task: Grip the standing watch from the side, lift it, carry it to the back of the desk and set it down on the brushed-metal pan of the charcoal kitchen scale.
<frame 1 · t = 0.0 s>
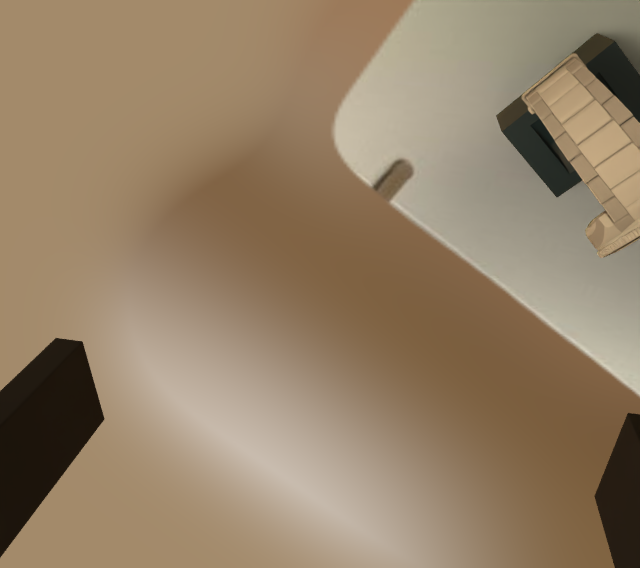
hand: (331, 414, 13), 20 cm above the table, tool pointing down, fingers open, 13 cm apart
watch: (571, 109, 27), on the table
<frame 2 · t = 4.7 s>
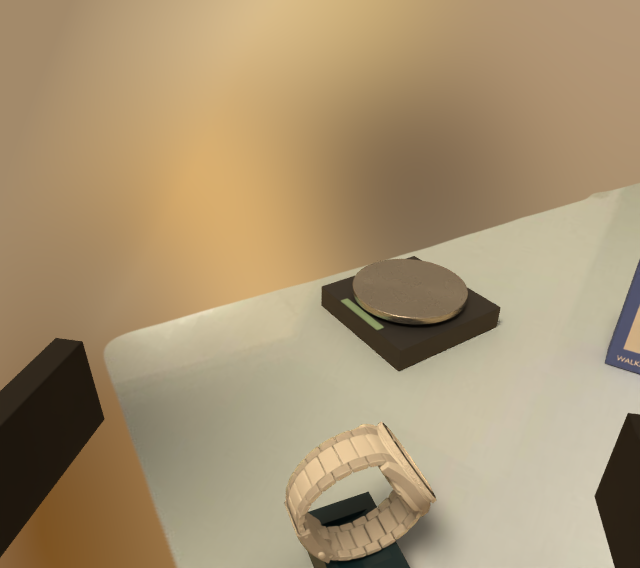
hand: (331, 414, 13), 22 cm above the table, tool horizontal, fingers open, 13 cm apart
scale pan: (409, 288, 55), point 3 cm above the table, slide at 0.0 cm
scale: (406, 315, 56), on the table
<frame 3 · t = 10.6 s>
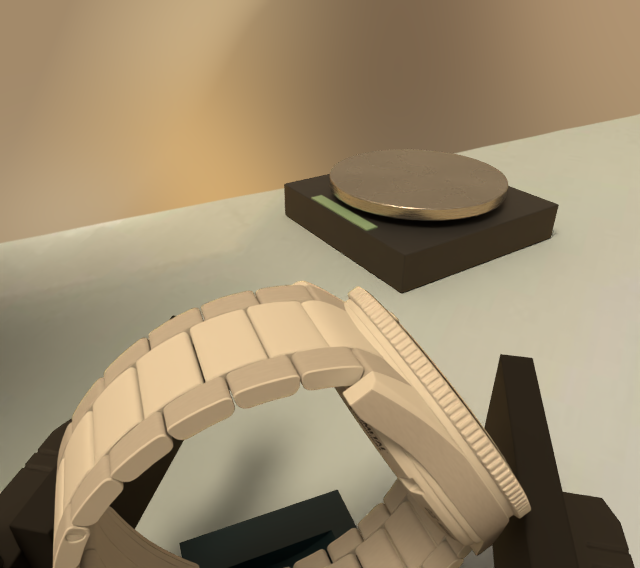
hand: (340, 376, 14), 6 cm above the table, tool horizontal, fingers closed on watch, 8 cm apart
scale pan: (416, 180, 36), point 3 cm above the table, slide at 0.0 cm
scale: (412, 225, 37), on the table
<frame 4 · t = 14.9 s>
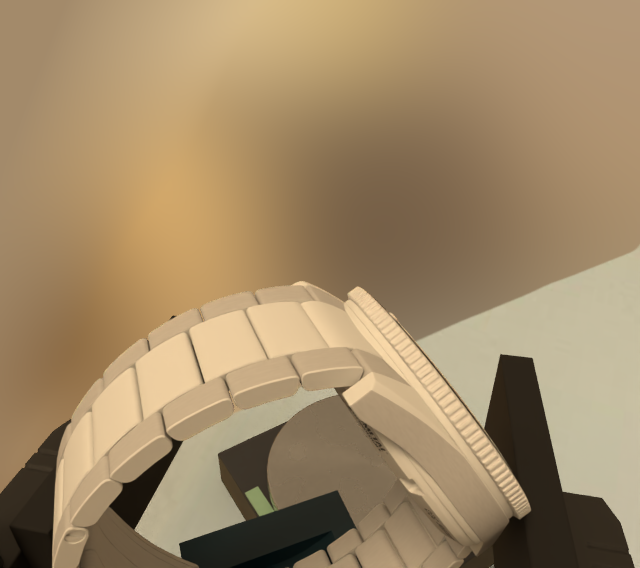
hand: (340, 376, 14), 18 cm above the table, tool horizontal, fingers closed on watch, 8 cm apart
scale pan: (370, 467, 30), point 3 cm above the table, slide at 0.0 cm
scale: (368, 506, 32), on the table
when the fingers open (9 cm above the table, at t = 19.6 s): watch stays where it is, resting on scale pan.
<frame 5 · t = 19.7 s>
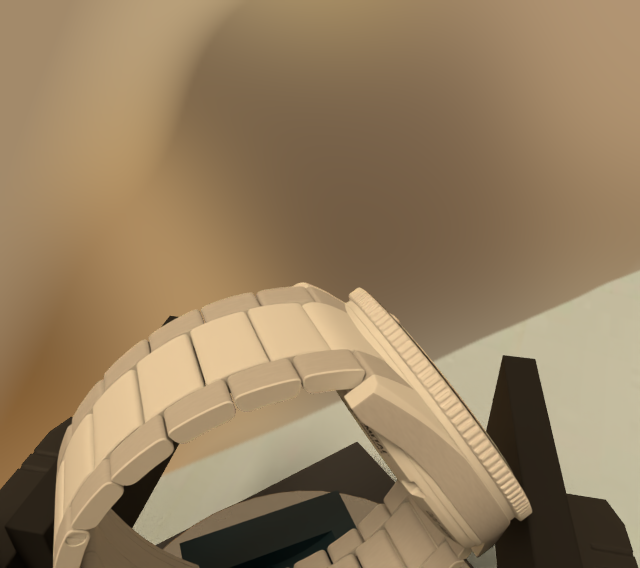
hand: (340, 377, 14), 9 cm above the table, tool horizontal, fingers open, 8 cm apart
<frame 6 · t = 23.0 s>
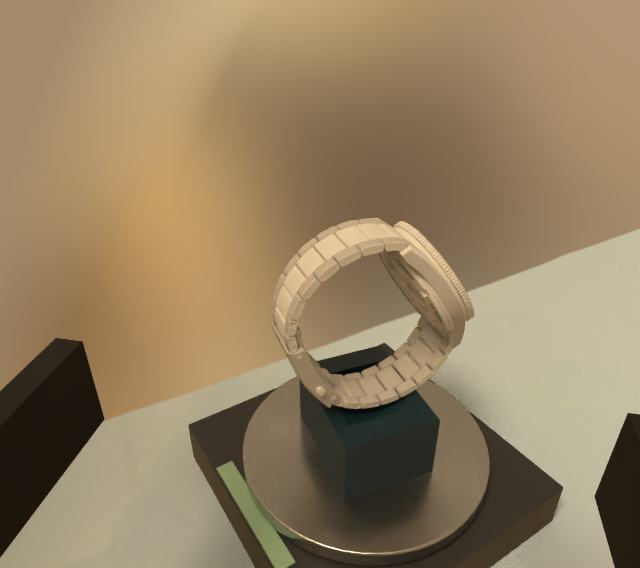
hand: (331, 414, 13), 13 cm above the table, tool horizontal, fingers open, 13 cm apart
scale pan: (364, 445, 26), point 3 cm above the table, slide at -0.4 cm, touching watch
watch: (363, 442, 26), point 3 cm above the table, touching scale pan
scale: (361, 486, 27), on the table
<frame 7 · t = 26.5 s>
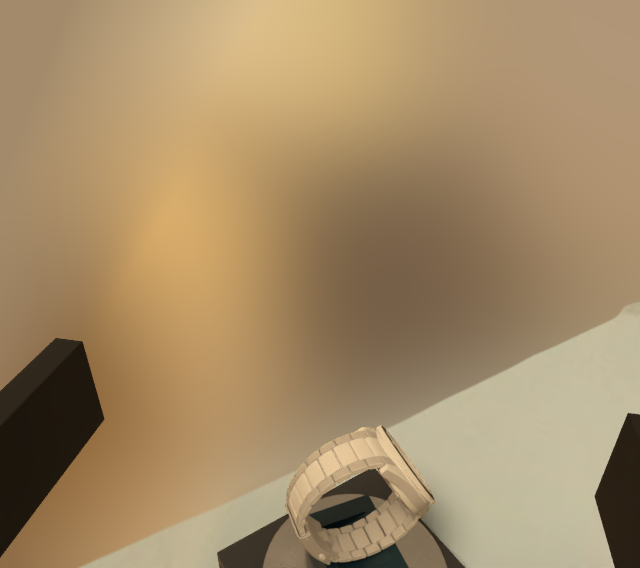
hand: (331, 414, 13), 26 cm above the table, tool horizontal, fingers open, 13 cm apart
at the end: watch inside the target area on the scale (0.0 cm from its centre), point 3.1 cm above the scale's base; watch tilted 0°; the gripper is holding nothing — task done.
